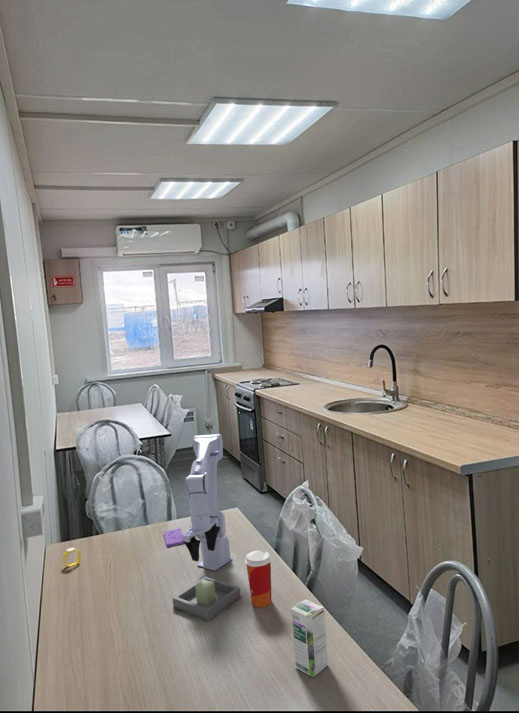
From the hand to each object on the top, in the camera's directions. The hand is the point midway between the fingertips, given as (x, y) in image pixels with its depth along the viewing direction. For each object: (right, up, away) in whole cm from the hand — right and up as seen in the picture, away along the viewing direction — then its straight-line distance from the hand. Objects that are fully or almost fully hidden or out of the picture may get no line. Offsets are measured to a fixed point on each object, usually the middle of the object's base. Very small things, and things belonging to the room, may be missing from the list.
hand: (203, 555), depth 163 cm
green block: (+2, -10, -9) cm, 13 cm away
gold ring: (-49, -13, +23) cm, 55 cm away
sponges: (-15, -9, +38) cm, 42 cm away
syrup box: (+30, -11, -40) cm, 51 cm away
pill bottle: (+18, -10, -11) cm, 23 cm away
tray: (+2, -11, -9) cm, 14 cm away
